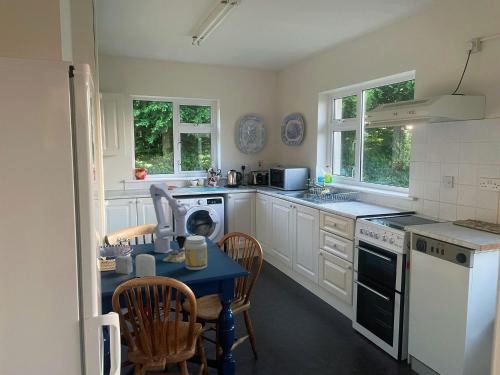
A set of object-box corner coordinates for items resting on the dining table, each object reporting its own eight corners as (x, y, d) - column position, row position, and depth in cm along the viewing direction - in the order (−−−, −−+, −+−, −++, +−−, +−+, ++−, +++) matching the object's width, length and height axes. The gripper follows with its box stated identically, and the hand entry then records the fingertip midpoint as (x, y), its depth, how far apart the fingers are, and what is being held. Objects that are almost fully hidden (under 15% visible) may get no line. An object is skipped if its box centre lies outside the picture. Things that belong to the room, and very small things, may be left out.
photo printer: (156, 276, 198) (155, 253, 197) (153, 279, 194) (152, 256, 193) (139, 275, 201) (137, 252, 199) (134, 278, 196) (133, 255, 195)
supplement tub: (181, 266, 214) (180, 237, 212) (200, 262, 222) (199, 234, 220) (192, 272, 204) (191, 241, 203) (211, 267, 212) (210, 238, 210)
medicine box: (133, 271, 206) (132, 256, 205) (127, 274, 202) (127, 258, 201) (120, 270, 209) (120, 255, 208) (115, 273, 205) (114, 257, 204)
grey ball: (176, 255, 232) (176, 248, 231) (180, 253, 236) (180, 246, 235) (182, 256, 230) (182, 249, 230) (186, 254, 234) (186, 247, 234)
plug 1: (169, 258, 226) (169, 251, 225) (174, 256, 230) (173, 249, 229) (176, 259, 224) (175, 252, 223) (180, 257, 228) (180, 250, 227)
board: (162, 260, 225) (162, 254, 225) (183, 251, 246) (183, 245, 245) (179, 262, 221) (179, 256, 220) (199, 252, 241) (199, 247, 240)
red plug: (182, 249, 238) (182, 242, 238) (186, 247, 242) (186, 241, 242) (188, 250, 236) (188, 243, 236) (192, 248, 240) (192, 241, 240)
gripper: (166, 226, 230) (167, 248, 232) (187, 228, 225) (187, 251, 226) (173, 224, 237) (174, 245, 238) (193, 226, 231) (194, 248, 233)
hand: (181, 248), depth 233 cm, fingers closed, pressing on grey ball
